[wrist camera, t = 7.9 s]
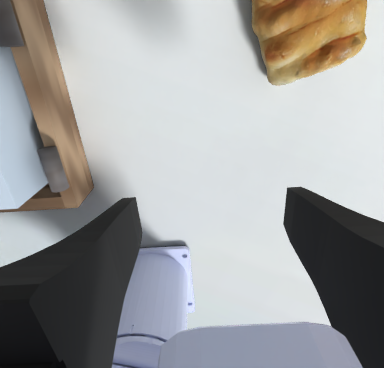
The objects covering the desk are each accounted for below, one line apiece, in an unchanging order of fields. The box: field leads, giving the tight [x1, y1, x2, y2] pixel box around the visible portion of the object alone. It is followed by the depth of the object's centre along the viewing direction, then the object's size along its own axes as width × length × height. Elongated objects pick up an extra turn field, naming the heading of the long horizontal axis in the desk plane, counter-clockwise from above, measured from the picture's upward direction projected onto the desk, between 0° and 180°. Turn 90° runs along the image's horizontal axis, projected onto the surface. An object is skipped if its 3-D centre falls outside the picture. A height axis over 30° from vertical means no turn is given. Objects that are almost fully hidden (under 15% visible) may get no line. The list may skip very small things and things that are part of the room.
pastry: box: [251, 0, 367, 86], centre depth 15 cm, size 9×7×4 cm
